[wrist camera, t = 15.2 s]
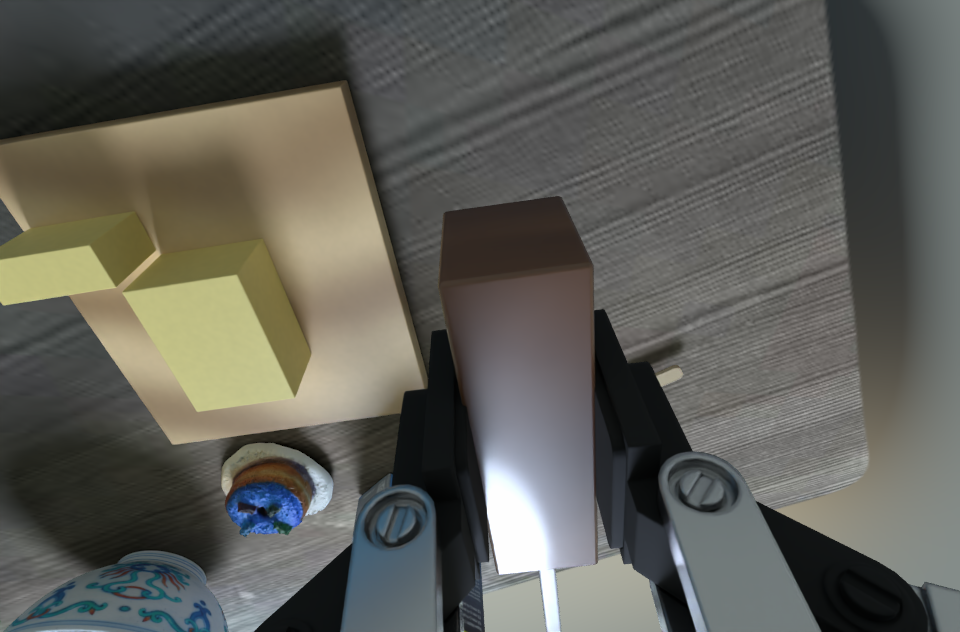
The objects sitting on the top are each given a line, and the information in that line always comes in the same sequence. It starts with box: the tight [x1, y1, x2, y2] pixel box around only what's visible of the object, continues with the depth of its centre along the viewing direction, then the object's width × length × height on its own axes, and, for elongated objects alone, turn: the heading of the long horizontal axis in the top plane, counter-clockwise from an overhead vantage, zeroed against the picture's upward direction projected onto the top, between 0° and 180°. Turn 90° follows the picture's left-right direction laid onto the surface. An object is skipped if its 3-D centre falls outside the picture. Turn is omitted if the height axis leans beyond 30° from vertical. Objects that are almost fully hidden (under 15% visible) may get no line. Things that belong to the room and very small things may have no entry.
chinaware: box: [4, 550, 229, 632], centre depth 38 cm, size 15×15×8 cm
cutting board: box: [0, 80, 428, 445], centre depth 27 cm, size 18×16×2 cm
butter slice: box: [0, 211, 156, 305], centre depth 22 cm, size 2×5×4 cm, turn 99°
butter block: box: [122, 239, 311, 412], centre depth 25 cm, size 7×5×4 cm
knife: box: [438, 196, 598, 632], centre depth 14 cm, size 17×2×3 cm, turn 8°
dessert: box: [221, 443, 333, 537], centre depth 35 cm, size 8×7×6 cm
